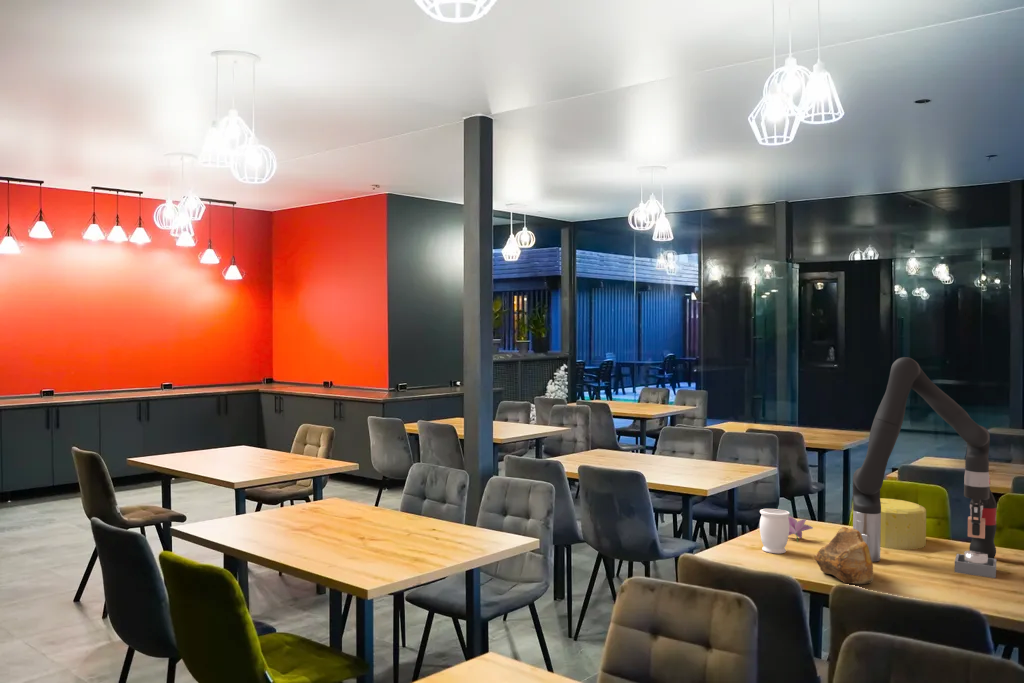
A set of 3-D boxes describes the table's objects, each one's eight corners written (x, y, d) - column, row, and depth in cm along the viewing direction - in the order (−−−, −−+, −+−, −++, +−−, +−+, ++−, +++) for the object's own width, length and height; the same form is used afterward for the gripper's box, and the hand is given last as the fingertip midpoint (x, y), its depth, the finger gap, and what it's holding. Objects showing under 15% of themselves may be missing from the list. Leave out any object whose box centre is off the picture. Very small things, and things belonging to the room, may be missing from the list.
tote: (995, 580, 266) (995, 567, 266) (954, 574, 272) (954, 561, 272) (996, 572, 276) (996, 559, 276) (956, 566, 282) (956, 553, 282)
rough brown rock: (811, 567, 281) (808, 525, 281) (861, 566, 278) (858, 524, 278) (823, 589, 258) (820, 544, 258) (878, 589, 255) (874, 542, 255)
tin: (981, 575, 269) (981, 557, 269) (960, 569, 275) (960, 552, 275) (991, 571, 273) (991, 554, 273) (969, 566, 279) (970, 549, 279)
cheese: (838, 536, 325) (839, 499, 325) (886, 531, 335) (886, 495, 335) (891, 552, 301) (892, 512, 301) (941, 546, 311) (941, 507, 311)
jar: (758, 552, 297) (758, 512, 297) (760, 546, 306) (761, 507, 306) (788, 556, 293) (788, 515, 293) (789, 549, 302) (790, 509, 302)
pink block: (984, 538, 271) (984, 521, 271) (967, 536, 273) (967, 519, 273) (984, 535, 275) (985, 518, 275) (968, 533, 278) (968, 516, 278)
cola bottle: (994, 556, 296) (995, 476, 296) (997, 562, 288) (998, 479, 288) (968, 553, 300) (969, 474, 300) (970, 559, 292) (971, 477, 292)
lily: (817, 543, 316) (812, 520, 321) (808, 537, 307) (803, 512, 312) (787, 548, 322) (783, 525, 326) (778, 542, 313) (773, 518, 318)
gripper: (989, 488, 266) (988, 539, 266) (989, 482, 278) (989, 530, 278) (963, 486, 270) (962, 536, 270) (965, 480, 282) (964, 528, 282)
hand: (976, 533), depth 274 cm, fingers closed on pink block, 5 cm apart
